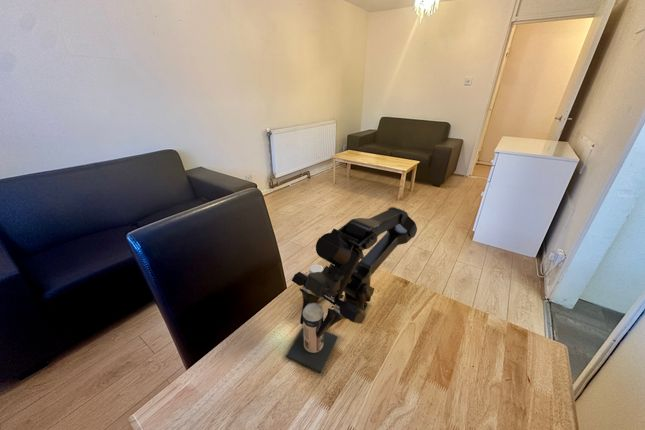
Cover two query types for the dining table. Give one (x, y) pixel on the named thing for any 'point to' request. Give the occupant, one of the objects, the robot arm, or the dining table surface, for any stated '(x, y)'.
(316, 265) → the supplement bottle
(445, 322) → the dining table surface
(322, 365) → the can mat
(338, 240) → the robot arm
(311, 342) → the beer can
